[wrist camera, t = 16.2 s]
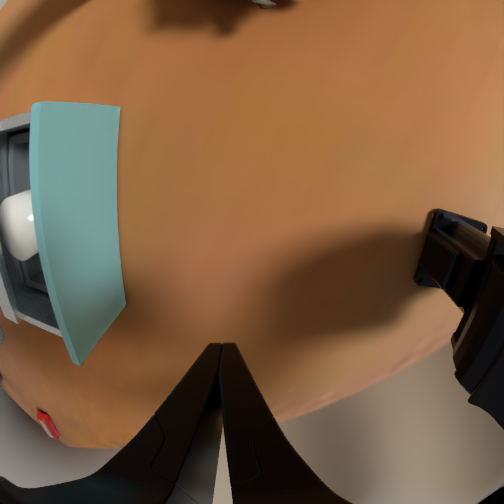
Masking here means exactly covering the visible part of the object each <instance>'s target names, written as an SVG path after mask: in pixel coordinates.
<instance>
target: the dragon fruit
mask: <svg viewBox="0 0 504 504" xmlns="http://www.w3.org/2000/svg"><path fill="white" fill-rule="evenodd" d="M251 1H252V2H254V3H256V4H258V5H259V6H260V8H262V9H265V8H271V7H274V6H276V5H277V4H275V3H273V2H271V1H270V0H251Z"/></svg>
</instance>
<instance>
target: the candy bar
mask: <svg viewBox="0 0 504 504" xmlns="http://www.w3.org/2000/svg"><path fill="white" fill-rule="evenodd" d="M37 418H38V420H39V422H40V423H41V425H42V427H43V428H44V430H45V431H46V433H47V434H48V436H50V437H52V438H54V439H59V433H58V431H57V429H56V427H55V425H54V423H53V421H52V420H51V418H50V416H49V415H48V414H46V413H44V412H41V411H37Z"/></svg>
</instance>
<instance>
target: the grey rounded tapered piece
mask: <svg viewBox="0 0 504 504" xmlns="http://www.w3.org/2000/svg"><path fill="white" fill-rule="evenodd" d="M0 232H1V236H2V239H3V241H4V243H5V245H6V247H7V249H8V250H9V252H10V253H11V254H12V255H13V256H14V257H15V258H16V259H18V260H21V261H25V260H27V259H29V258H30V257H32V256H33V255H35V254H36V253H38V252H39V251H38V245H37V239H36V233H35V227H34V219H33V211H32V201H31V189H29V190H26V191H23V192H21V193H18V194H15V195H13V196H10V197H8V198H6V199H4V200H3V202H2V203H1V206H0Z"/></svg>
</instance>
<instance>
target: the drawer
mask: <svg viewBox="0 0 504 504" xmlns="http://www.w3.org/2000/svg"><path fill="white" fill-rule="evenodd" d="M119 118H120V107H118V106H110V105H100V104H89V103H74V102H46V101H41V102H37V103H34V104H32V110H31V122H30V132H29V133H24V134H19V135H15V136H11V137H9V177H10V192H11V196H13V195H15V194H18V193H21V192H23V191H26V190H29V189H31V201H32V211H33V219H34V227H35V233H36V239H37V245H38V251H39V252H38V253H36V254H35V255H33V256H32V257H30V258H29V259H27V260H25V261H21V262H22V266H23V270H24V274H25V278H26V282H27V285H28V286H31V287H33V288H36V289H39V290H42V291H45V292H48V294H49V297H50V301H51V304H52V307H53V311H54V314H55V317H56V320H57V323H58V326H59V329H60V332H61V334H62V337H63V340H64V342H65V345H66V348H67V350H68V353H69V355H70V357H71V360H72V362H73V363H74V364H77V365H79V366H81V365H82V364H83V362H84V361H85V360H86V358H87V357H88V355H89V354H90V353H91V351H92V350H93V348H94V347H95V346H96V344H97V343H98V342H99V340H100V339H101V338H102V336H103V335H104V333H105V332H106V331H107V329H108V328H109V327H110V326H111V324H112V323H113V322H114V320H115V319H116V318H117V316H118V315H119V314H120V312H121V311H122V310H123V309H124V307H125V306H126V300H125V293H124V286H123V278H122V269H121V260H120V249H119V236H118V218H117V147H118V130H119Z"/></svg>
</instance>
